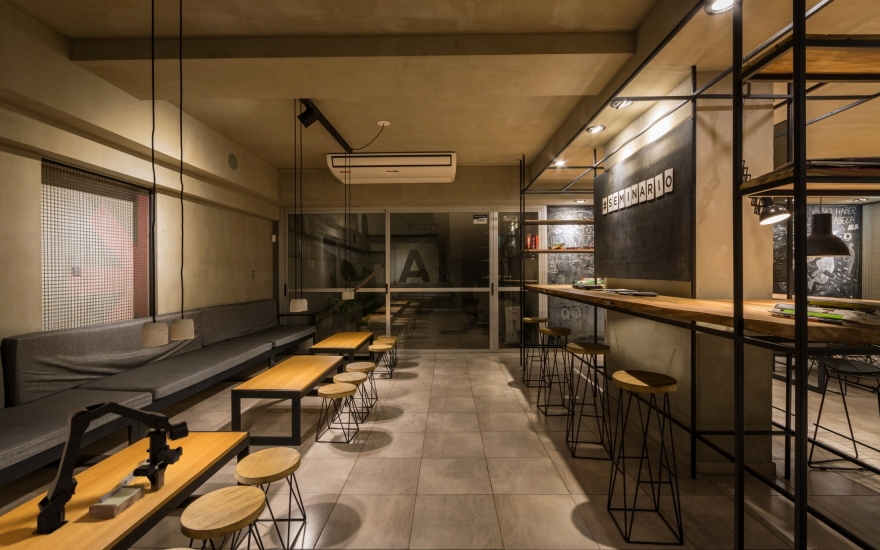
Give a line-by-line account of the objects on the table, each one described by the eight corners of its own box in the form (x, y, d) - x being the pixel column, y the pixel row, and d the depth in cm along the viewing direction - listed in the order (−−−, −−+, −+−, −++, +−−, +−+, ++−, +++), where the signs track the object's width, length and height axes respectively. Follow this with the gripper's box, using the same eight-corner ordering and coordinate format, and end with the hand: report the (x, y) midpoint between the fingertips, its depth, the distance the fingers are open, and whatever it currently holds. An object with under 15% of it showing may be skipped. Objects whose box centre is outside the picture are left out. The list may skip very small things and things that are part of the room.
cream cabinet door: (116, 506, 135) (116, 500, 135) (93, 507, 135) (93, 500, 135) (141, 489, 147) (141, 483, 147) (119, 489, 147) (119, 484, 147)
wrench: (118, 495, 154) (165, 454, 184) (123, 495, 154) (168, 454, 184) (117, 477, 153) (164, 438, 183) (122, 477, 153) (168, 438, 183)
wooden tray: (113, 518, 134) (114, 506, 134) (88, 518, 134) (89, 506, 134) (144, 496, 148) (144, 485, 148) (121, 496, 148) (121, 485, 148)
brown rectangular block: (158, 489, 151) (158, 472, 152) (150, 489, 151) (150, 472, 152) (164, 485, 155) (164, 468, 155) (156, 485, 155) (156, 468, 155)
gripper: (161, 454, 144) (160, 495, 144) (192, 435, 163) (191, 471, 162) (132, 455, 144) (131, 495, 144) (166, 435, 163) (166, 471, 162)
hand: (157, 482), depth 153 cm, fingers closed on brown rectangular block, 3 cm apart
